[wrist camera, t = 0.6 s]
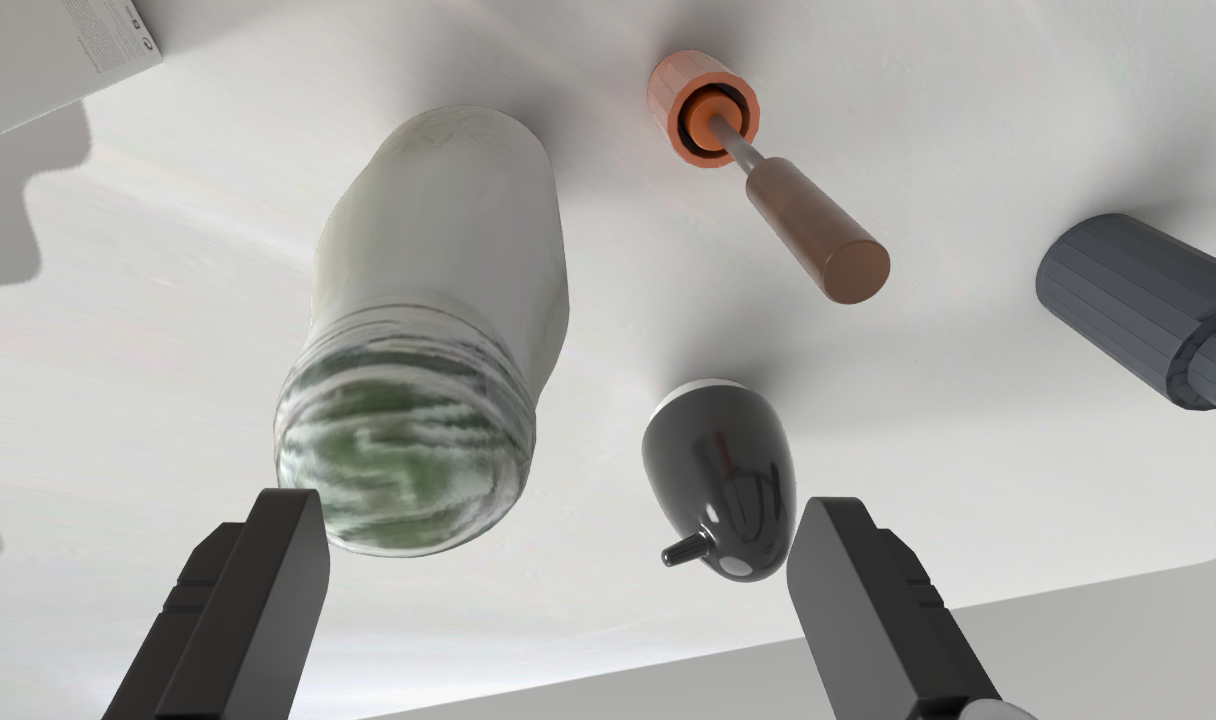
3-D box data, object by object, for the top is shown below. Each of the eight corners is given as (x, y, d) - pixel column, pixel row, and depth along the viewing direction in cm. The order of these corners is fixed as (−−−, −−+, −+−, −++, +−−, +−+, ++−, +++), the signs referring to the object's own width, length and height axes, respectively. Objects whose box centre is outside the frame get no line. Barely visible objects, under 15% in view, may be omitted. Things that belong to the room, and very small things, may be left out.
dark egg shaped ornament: (635, 358, 49) (673, 510, 36) (776, 355, 50) (861, 502, 38) (628, 466, 55) (659, 632, 42) (755, 461, 56) (823, 621, 43)
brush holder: (689, 30, 38) (718, 50, 32) (741, 90, 40) (778, 119, 34) (630, 94, 40) (648, 124, 34) (683, 149, 42) (709, 186, 36)
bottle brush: (689, 59, 38) (868, 210, 18) (719, 93, 40) (919, 270, 19) (656, 95, 39) (792, 277, 19) (686, 127, 40) (845, 330, 20)
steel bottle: (1120, 190, 46) (1354, 296, 33) (1162, 261, 49) (1390, 383, 36) (1016, 270, 48) (1195, 398, 35) (1063, 333, 52) (1243, 470, 39)
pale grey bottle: (526, 63, 38) (524, 288, 15) (575, 230, 44) (631, 590, 20) (357, 111, 39) (92, 405, 15) (427, 271, 44) (312, 668, 21)
